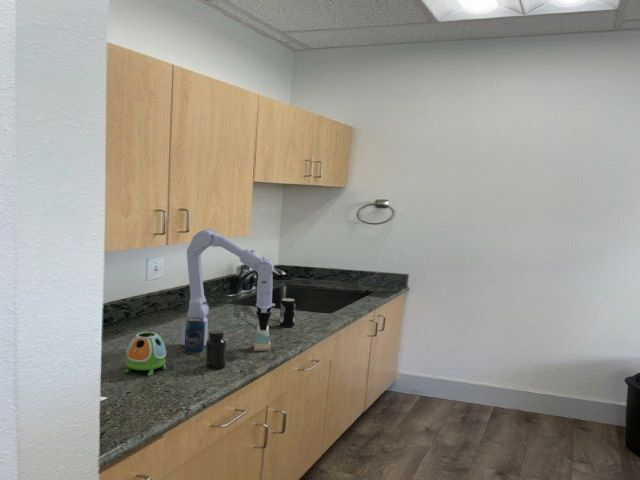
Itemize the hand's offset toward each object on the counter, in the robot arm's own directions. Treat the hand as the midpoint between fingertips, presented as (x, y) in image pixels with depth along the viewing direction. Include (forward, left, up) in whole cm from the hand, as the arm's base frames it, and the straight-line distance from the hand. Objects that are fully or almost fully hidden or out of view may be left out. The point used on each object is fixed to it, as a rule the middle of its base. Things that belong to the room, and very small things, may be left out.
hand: (263, 327), depth 225 cm
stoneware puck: (0, 0, -2) cm, 2 cm away
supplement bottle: (-28, -6, -8) cm, 30 cm away
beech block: (0, 0, -8) cm, 8 cm away
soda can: (-22, +13, -8) cm, 27 cm away
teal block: (0, 0, -5) cm, 5 cm away
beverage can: (+34, +19, -8) cm, 40 cm away
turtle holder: (-46, +7, -8) cm, 47 cm away
